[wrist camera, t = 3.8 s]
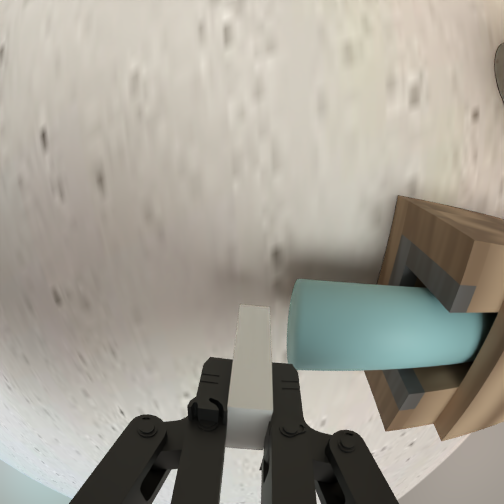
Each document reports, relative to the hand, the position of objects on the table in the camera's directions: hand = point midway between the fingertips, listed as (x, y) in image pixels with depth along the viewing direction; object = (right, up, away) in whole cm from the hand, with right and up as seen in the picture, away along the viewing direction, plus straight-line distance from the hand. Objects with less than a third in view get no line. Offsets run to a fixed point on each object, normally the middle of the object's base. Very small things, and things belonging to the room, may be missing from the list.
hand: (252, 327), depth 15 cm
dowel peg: (+9, 0, +3) cm, 9 cm away
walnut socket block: (+16, +1, +6) cm, 17 cm away
